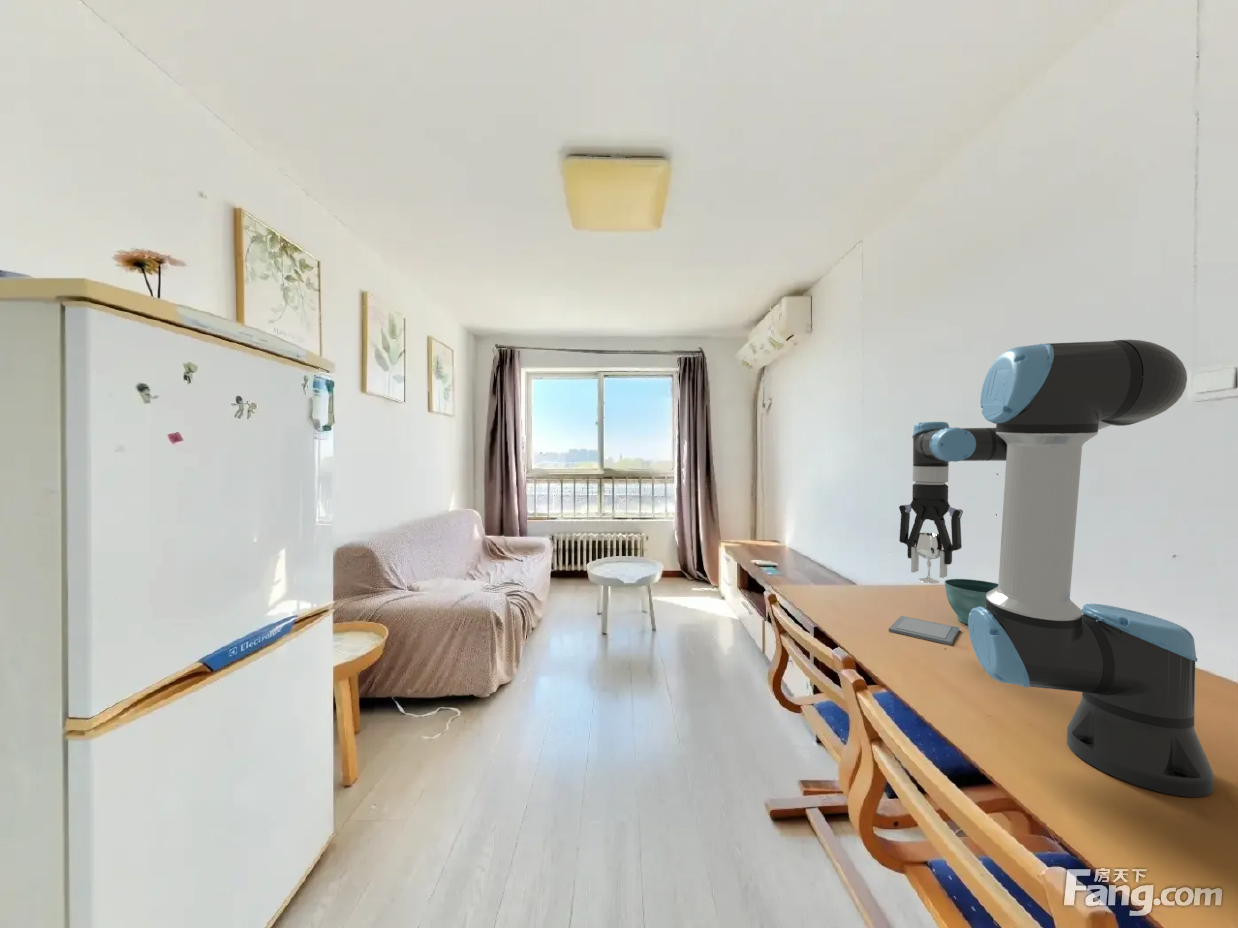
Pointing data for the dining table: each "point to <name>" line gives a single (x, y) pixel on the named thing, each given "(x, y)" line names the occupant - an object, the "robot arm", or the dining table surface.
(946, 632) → the coaster
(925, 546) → the wineglass
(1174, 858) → the dining table surface
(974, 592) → the flower pot
